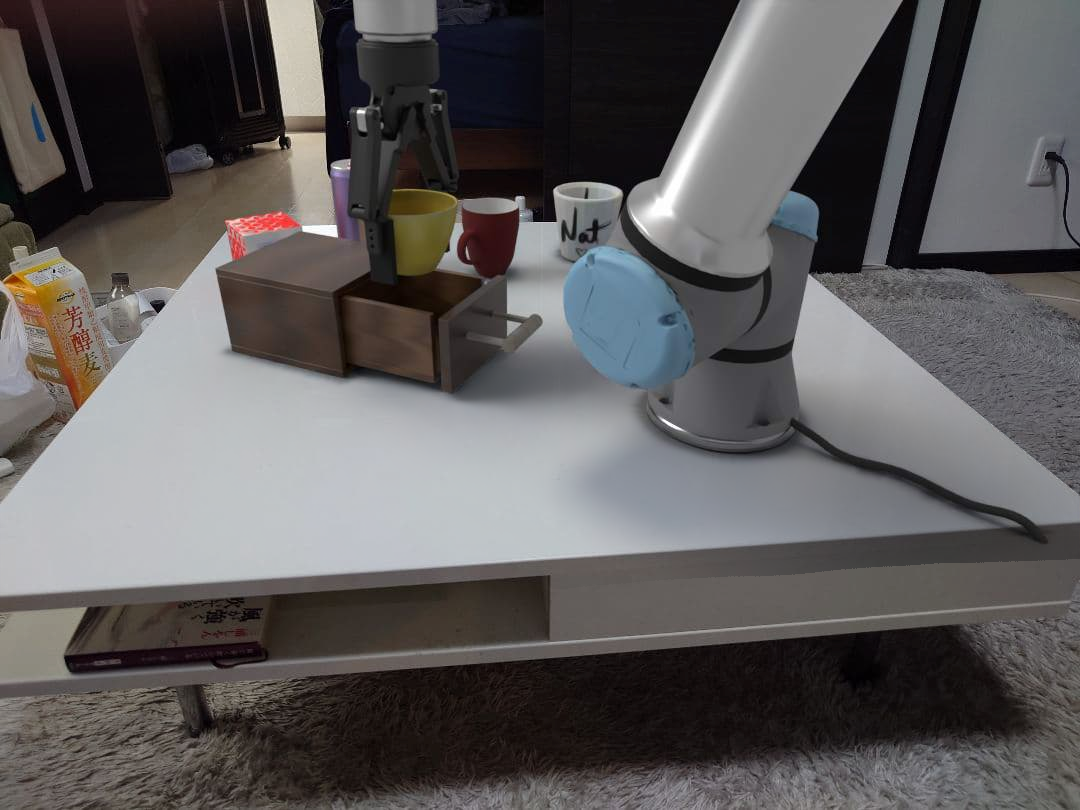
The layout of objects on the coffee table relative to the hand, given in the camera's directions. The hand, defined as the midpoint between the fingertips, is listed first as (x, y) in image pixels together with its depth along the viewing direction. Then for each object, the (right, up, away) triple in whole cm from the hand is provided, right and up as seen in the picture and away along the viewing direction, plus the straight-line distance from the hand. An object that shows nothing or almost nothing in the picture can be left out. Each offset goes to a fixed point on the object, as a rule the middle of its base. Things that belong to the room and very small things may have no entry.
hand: (412, 265), depth 83 cm
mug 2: (+21, +9, +39) cm, 46 cm away
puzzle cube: (-24, +3, +27) cm, 36 cm away
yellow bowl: (0, 0, 0) cm, 0 cm away
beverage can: (-13, +5, +31) cm, 34 cm away
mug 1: (+6, +3, +29) cm, 30 cm away
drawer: (+3, -10, +4) cm, 11 cm away
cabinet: (-12, -7, +10) cm, 17 cm away
